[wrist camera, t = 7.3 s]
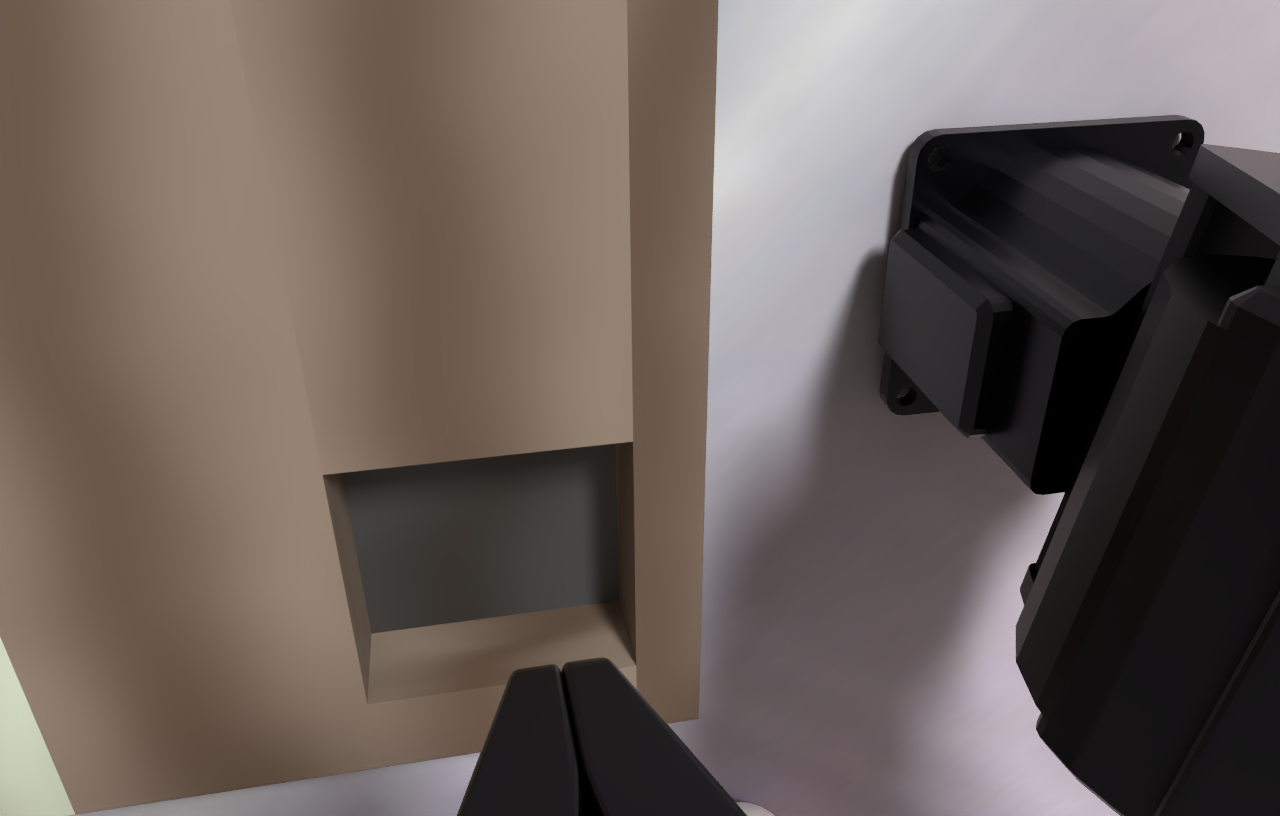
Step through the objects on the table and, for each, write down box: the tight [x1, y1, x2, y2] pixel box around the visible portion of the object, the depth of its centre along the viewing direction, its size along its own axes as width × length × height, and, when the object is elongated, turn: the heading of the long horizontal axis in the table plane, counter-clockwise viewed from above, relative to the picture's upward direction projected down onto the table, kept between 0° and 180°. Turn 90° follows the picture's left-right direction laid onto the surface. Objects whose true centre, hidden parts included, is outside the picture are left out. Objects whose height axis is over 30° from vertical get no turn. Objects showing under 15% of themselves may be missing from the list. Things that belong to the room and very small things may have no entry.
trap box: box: [0, 0, 718, 816], centre depth 18 cm, size 23×18×4 cm
